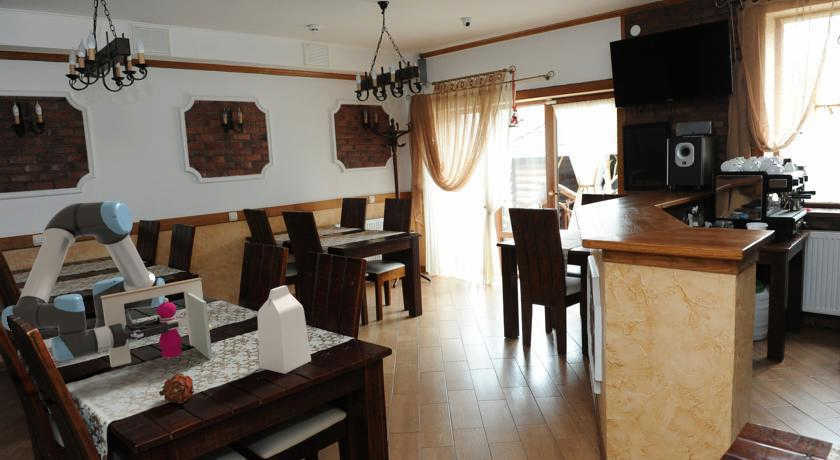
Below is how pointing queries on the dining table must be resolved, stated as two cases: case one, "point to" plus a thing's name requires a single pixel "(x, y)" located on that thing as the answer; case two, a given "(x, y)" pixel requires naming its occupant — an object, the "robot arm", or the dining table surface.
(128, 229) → the robot arm
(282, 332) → the milk
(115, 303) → the door frame
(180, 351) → the pepper mill
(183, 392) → the dragon fruit
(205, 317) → the door
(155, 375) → the dining table surface
